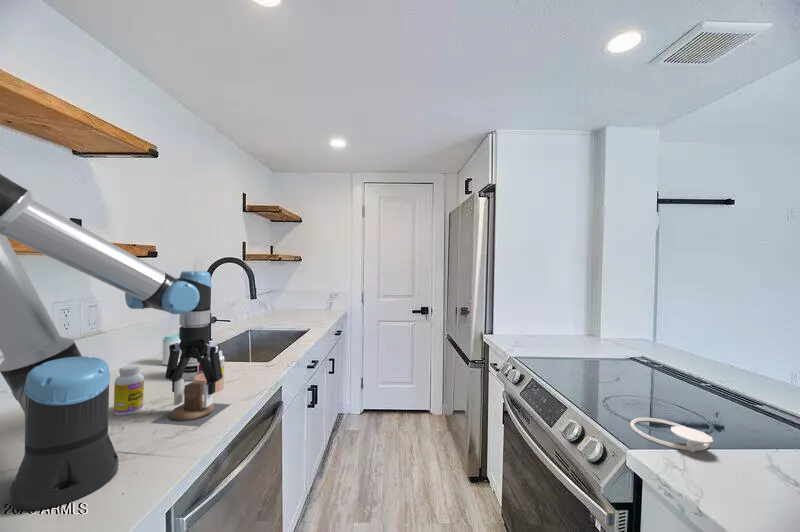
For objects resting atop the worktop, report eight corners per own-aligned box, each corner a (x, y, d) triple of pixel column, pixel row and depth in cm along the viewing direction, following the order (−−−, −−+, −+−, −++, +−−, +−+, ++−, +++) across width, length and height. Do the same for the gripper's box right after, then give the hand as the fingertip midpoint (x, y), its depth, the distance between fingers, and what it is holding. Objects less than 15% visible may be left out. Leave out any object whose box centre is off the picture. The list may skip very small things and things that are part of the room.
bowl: (212, 396, 110) (213, 381, 110) (187, 394, 111) (188, 379, 111) (228, 386, 118) (228, 372, 118) (205, 385, 119) (205, 371, 119)
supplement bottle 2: (203, 381, 123) (204, 353, 123) (212, 376, 129) (213, 349, 129) (218, 382, 123) (218, 353, 123) (227, 376, 128) (227, 350, 128)
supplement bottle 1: (126, 418, 94) (127, 371, 94) (107, 415, 95) (108, 369, 95) (149, 408, 100) (150, 364, 100) (130, 405, 102) (131, 362, 101)
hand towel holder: (677, 408, 100) (742, 444, 80) (676, 422, 100) (742, 463, 80) (617, 404, 101) (667, 440, 81) (617, 419, 101) (666, 458, 81)
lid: (197, 422, 91) (198, 392, 91) (161, 419, 92) (162, 389, 92) (221, 406, 102) (222, 379, 102) (188, 404, 102) (189, 377, 102)
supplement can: (199, 372, 132) (200, 334, 132) (209, 377, 128) (210, 337, 127) (175, 378, 126) (176, 337, 126) (185, 383, 121) (186, 341, 121)
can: (186, 362, 145) (187, 334, 145) (172, 366, 139) (173, 337, 138) (172, 360, 147) (173, 333, 147) (158, 365, 140) (158, 336, 140)
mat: (199, 427, 89) (199, 426, 89) (150, 424, 91) (150, 422, 91) (230, 405, 103) (230, 404, 103) (187, 402, 104) (187, 401, 104)
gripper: (237, 324, 99) (236, 401, 100) (170, 321, 101) (169, 396, 102) (222, 329, 92) (220, 412, 92) (149, 325, 94) (148, 407, 94)
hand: (193, 404), depth 97 cm, fingers open, 8 cm apart
